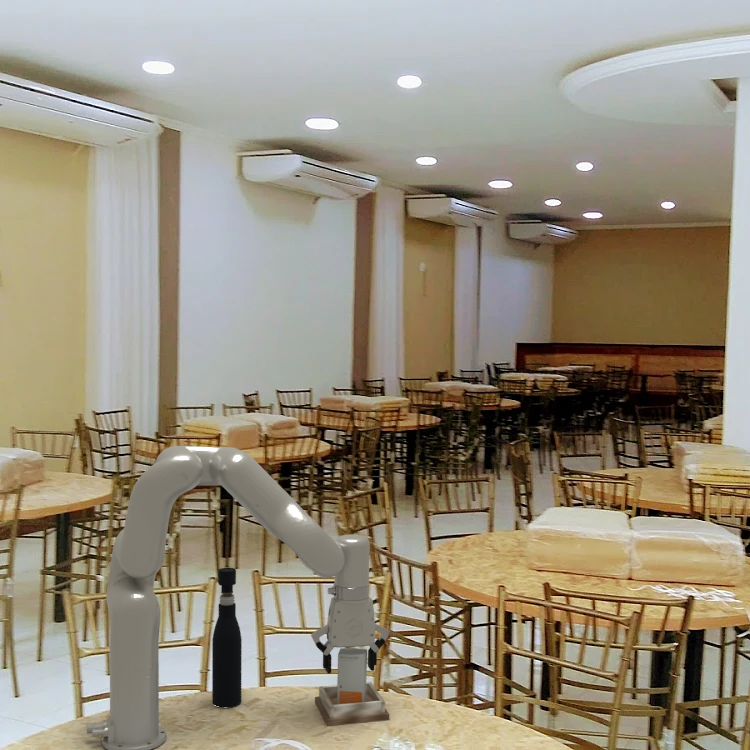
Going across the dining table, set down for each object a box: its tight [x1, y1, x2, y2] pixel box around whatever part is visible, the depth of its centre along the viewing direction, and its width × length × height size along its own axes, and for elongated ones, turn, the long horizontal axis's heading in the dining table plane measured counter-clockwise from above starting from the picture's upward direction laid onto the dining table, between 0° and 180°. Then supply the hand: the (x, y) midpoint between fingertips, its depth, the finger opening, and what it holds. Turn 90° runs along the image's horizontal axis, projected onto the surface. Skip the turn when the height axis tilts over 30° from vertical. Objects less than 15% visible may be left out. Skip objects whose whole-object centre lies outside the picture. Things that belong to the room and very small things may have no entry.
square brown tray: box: [314, 681, 390, 727], centre depth 204 cm, size 14×14×4 cm
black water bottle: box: [211, 567, 243, 708], centre depth 208 cm, size 6×6×30 cm
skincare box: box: [336, 647, 368, 705], centre depth 204 cm, size 6×4×12 cm
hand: (349, 670), depth 204 cm, fingers open, 9 cm apart
